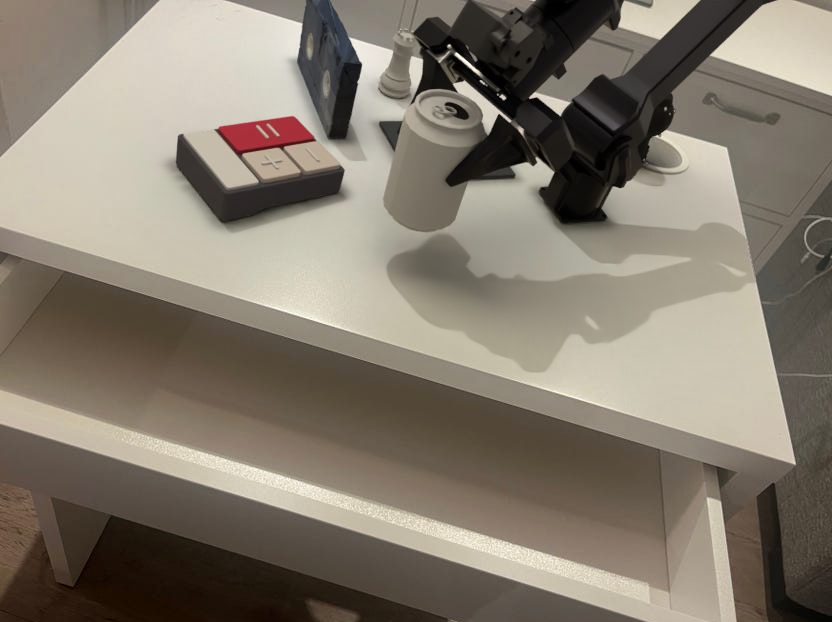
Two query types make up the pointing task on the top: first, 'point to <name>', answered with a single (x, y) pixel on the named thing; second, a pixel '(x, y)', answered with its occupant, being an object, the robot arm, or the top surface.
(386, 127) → the mat
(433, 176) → the can
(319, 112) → the vhs cassette tape
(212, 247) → the top surface
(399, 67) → the rook chess piece
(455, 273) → the top surface
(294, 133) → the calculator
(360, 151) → the top surface
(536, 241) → the top surface
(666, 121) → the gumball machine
